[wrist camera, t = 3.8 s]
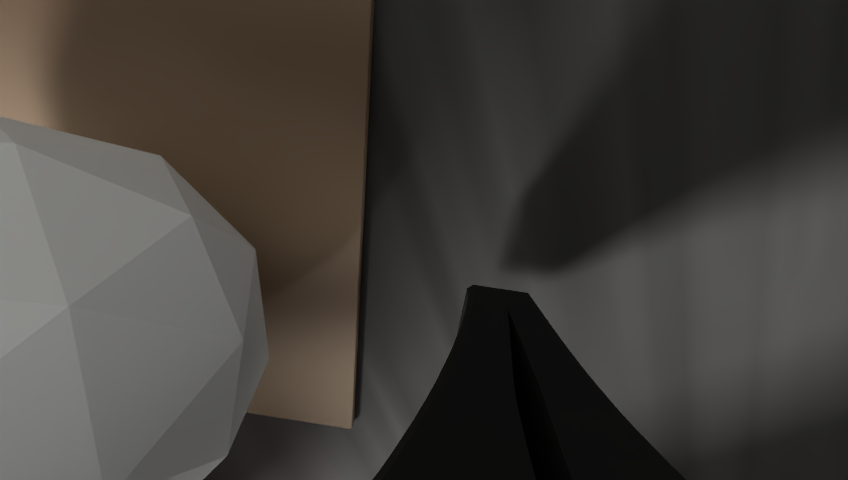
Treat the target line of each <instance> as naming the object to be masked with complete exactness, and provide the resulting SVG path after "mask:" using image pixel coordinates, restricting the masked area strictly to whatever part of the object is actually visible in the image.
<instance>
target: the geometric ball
mask: <svg viewBox="0 0 848 480" xmlns="http://www.w3.org/2000/svg"><path fill="white" fill-rule="evenodd" d="M268 361H269V352H268V344H267V336H266V328H265V320H264V312H263V305H262V297H261V289H260V281H259V273H258V265H257V257H256V249H255V248H254V247H253V246H252V245H251V244H250V243H249V242H248V241H247V240H246V239H245V238H244V237H243V236H242V235H241V234H240V233H239V232H238V231H237V230H236V229H235V228H234V227H233V226H232V225H231V224H230V223H229V222H228V221H227V220H226V219H225V218H223V217H222V216H221V215H220V214H219V213H218V212H217V211H216V210H215V209H214V208H213V207H212V206H211V205H210V204H209V203H208V202H207V201H206V200H205V199H204V198H203V197H202V196H201V195H200V194H199V193H198V192H197V191H196V190H195V189H194V188H193V187H192V186H191V185H190V184H189V183H188V182H187V181H186V180H185V179H184V178H183V177H182V176H181V175H180V174H179V173H178V172H177V171H176V170H175V169H174V168H173V167H172V166H171V165H170V164H169V163H168V162H167V161H166V160H165V159H164V158H163V157H161V156H160V155H156V154H152V153H148V152H144V151H140V150H136V149H132V148H128V147H124V146H120V145H115V144H111V143H107V142H103V141H99V140H95V139H91V138H87V137H83V136H79V135H74V134H70V133H66V132H62V131H58V130H54V129H50V128H46V127H42V126H38V125H33V124H29V123H25V122H21V121H17V120H13V119H9V118H5V117H1V116H0V480H203V479H204V478H205V477H206V476H207V475H208V474H209V473H210V472H211V471H212V470H213V469H214V468H215V467H216V466H218V465H219V464H220V463H221V462H222V461H223V460H224V459H225V458H226V457H227V455H228V453H229V451H230V448H231V446H232V444H233V441H234V439H235V437H236V435H237V432H238V430H239V428H240V425H241V423H242V421H243V419H244V416H245V414H246V412H247V409H248V407H249V405H250V403H251V400H252V398H253V396H254V393H255V391H256V389H257V386H258V384H259V382H260V380H261V377H262V375H263V373H264V370H265V368H266V366H267V364H268Z"/></svg>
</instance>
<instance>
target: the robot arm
mask: <svg viewBox="0 0 848 480" xmlns="http://www.w3.org/2000/svg"><path fill="white" fill-rule="evenodd" d="M373 480H686V479H685V478H684V477H683V476H682V475H681V474H680V473H678V472H677V471H676V470H675V469H674V468H673V467H672V466H671V465H670V464H669V463H668V462H667V461H666V460H665V459H664V458H663V457H662V456H661V455H660V453H659V452H658V451H657V450H656V449H655V448H654V447H653V446H652V445H651V444H650V443H649V442H648V441H647V440H646V439H645V438H644V437H643V436H642V435H641V434H640V433H639V432H638V431H637V430H636V429H635V428H634V427H633V426H632V425H631V423H630V422H629V421H628V420H627V419H626V418H625V417H624V416H623V415H622V414H621V412H620V411H619V410H618V409H617V408H616V407H615V406H614V404H613V403H612V402H611V401H610V400H609V399H608V397H607V396H606V395H605V394H604V393H603V392H602V390H601V389H600V388H599V387H598V386H597V385H596V383H595V382H594V381H593V380H592V379H591V377H590V376H589V375H588V374H587V372H586V371H585V370H584V369H583V367H582V366H581V365H580V364H579V362H578V361H577V360H576V358H575V357H574V356H573V355H572V353H571V352H570V351H569V349H568V348H567V347H566V345H565V344H564V343H563V341H562V340H561V339H560V337H559V336H558V334H557V333H556V332H555V330H554V329H553V328H552V326H551V325H550V323H549V322H548V321H547V319H546V318H545V316H544V315H543V313H542V312H541V311H540V309H539V308H538V306H537V305H536V304H535V302H534V301H533V299H532V298H531V297H530V295H529V294H528V293H524V292H517V291H511V290H504V289H497V288H491V287H484V286H477V285H472V286H470V287H469V288H467V292H466V297H465V301H464V306H463V310H462V315H461V320H460V324H459V329H458V334H457V337H456V340H455V342H454V345H453V347H452V350H451V352H450V354H449V356H448V358H447V360H446V362H445V364H444V366H443V368H442V370H441V372H440V375H439V377H438V379H437V380H436V382H435V384H434V386H433V388H432V390H431V391H430V393H429V395H428V397H427V399H426V400H425V402H424V404H423V405H422V407H421V409H420V410H419V412H418V414H417V415H416V417H415V419H414V420H413V422H412V423H411V425H410V426H409V428H408V429H407V431H406V432H405V434H404V435H403V437H402V439H401V440H400V442H399V443H398V445H397V446H396V448H395V449H394V451H393V452H392V454H391V455H390V456H389V458H388V459H387V461H386V462H385V464H384V465H383V466H382V468H381V469H380V471H379V472H378V473H377V475H376V476H375V477H374V479H373Z"/></svg>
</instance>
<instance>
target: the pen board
mask: <svg viewBox="0 0 848 480" xmlns="http://www.w3.org/2000/svg"><path fill="white" fill-rule="evenodd" d="M373 18H374V0H0V116H1V117H5V118H9V119H13V120H17V121H21V122H25V123H29V124H33V125H38V126H42V127H46V128H50V129H54V130H58V131H62V132H66V133H70V134H74V135H79V136H83V137H87V138H91V139H95V140H99V141H103V142H107V143H111V144H115V145H120V146H124V147H128V148H132V149H136V150H140V151H144V152H148V153H152V154H156V155H160V156H161V157H163V158H164V159H165V160H166V161H167V162H168V163H169V164H170V165H171V166H172V167H173V168H174V169H175V170H176V171H177V172H178V173H179V174H180V175H181V176H182V177H183V178H184V179H185V180H186V181H187V182H188V183H189V184H190V185H191V186H192V187H193V188H194V189H195V190H196V191H197V192H198V193H199V194H200V195H201V196H202V197H203V198H204V199H205V200H206V201H207V202H208V203H209V204H210V205H211V206H212V207H213V208H214V209H215V210H216V211H217V212H218V213H219V214H220V215H221V216H222V217H223V218H225V219H226V220H227V221H228V222H229V223H230V224H231V225H232V226H233V227H234V228H235V229H236V230H237V231H238V232H239V233H240V234H241V235H242V236H243V237H244V238H245V239H246V240H247V241H248V242H249V243H250V244H251V245H252V246H253V247H254V248H255V249H256V257H257V265H258V273H259V281H260V289H261V297H262V305H263V312H264V320H265V328H266V336H267V344H268V352H269V361H268V364H267V366H266V368H265V370H264V373H263V375H262V377H261V380H260V382H259V384H258V386H257V389H256V391H255V393H254V396H253V398H252V400H251V403H250V405H249V407H248V409H247V412H246V413H252V414H258V415H264V416H271V417H277V418H284V419H290V420H296V421H303V422H309V423H315V424H322V425H328V426H335V427H341V428H347V429H352V426H353V423H354V407H355V387H356V366H357V346H358V326H359V305H360V285H361V264H362V244H363V223H364V203H365V182H366V162H367V141H368V121H369V100H370V80H371V59H372V39H373Z"/></svg>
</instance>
